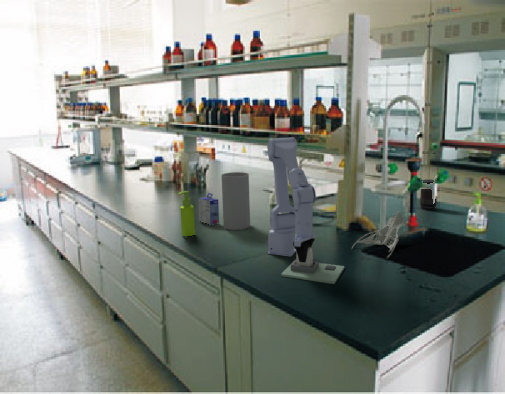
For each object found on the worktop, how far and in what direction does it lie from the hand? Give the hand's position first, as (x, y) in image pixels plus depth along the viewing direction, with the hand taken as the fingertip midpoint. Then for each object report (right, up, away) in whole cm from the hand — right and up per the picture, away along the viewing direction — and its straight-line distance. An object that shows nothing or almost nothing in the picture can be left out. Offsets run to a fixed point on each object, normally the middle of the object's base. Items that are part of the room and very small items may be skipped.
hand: (303, 260), depth 148 cm
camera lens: (+74, +15, +78) cm, 109 cm away
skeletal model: (+35, +2, +24) cm, 42 cm away
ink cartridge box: (-39, +9, +63) cm, 75 cm away
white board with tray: (+3, -4, -1) cm, 5 cm away
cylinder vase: (-25, +7, +55) cm, 61 cm away
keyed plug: (0, -2, 0) cm, 2 cm away
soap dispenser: (-46, +4, +44) cm, 64 cm away
